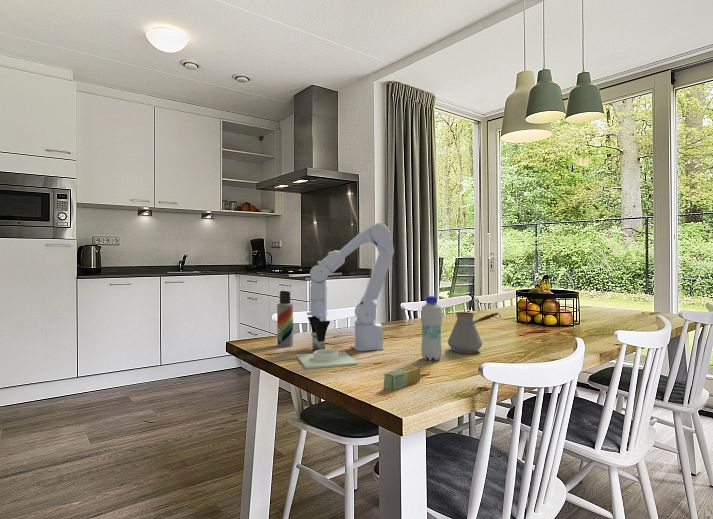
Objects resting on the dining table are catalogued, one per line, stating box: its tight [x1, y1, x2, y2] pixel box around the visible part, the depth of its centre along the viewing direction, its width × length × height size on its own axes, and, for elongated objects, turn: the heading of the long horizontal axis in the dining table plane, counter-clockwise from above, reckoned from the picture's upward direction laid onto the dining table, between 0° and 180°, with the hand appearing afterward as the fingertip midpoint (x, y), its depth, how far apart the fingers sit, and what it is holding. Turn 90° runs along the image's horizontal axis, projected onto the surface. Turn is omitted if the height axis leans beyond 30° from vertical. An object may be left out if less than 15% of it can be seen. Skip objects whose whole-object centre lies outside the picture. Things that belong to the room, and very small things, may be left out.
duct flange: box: [295, 348, 359, 370], centre depth 137 cm, size 16×16×3 cm
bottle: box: [420, 295, 443, 362], centre depth 138 cm, size 7×7×20 cm
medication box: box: [383, 365, 421, 392], centre depth 111 cm, size 12×3×4 cm, turn 136°
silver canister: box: [310, 331, 327, 352], centre depth 151 cm, size 5×5×6 cm
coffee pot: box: [447, 311, 501, 354], centre depth 145 cm, size 21×12×15 cm, turn 27°
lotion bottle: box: [276, 290, 294, 348], centre depth 159 cm, size 6×6×20 cm
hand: (318, 338), depth 151 cm, fingers open, 7 cm apart
